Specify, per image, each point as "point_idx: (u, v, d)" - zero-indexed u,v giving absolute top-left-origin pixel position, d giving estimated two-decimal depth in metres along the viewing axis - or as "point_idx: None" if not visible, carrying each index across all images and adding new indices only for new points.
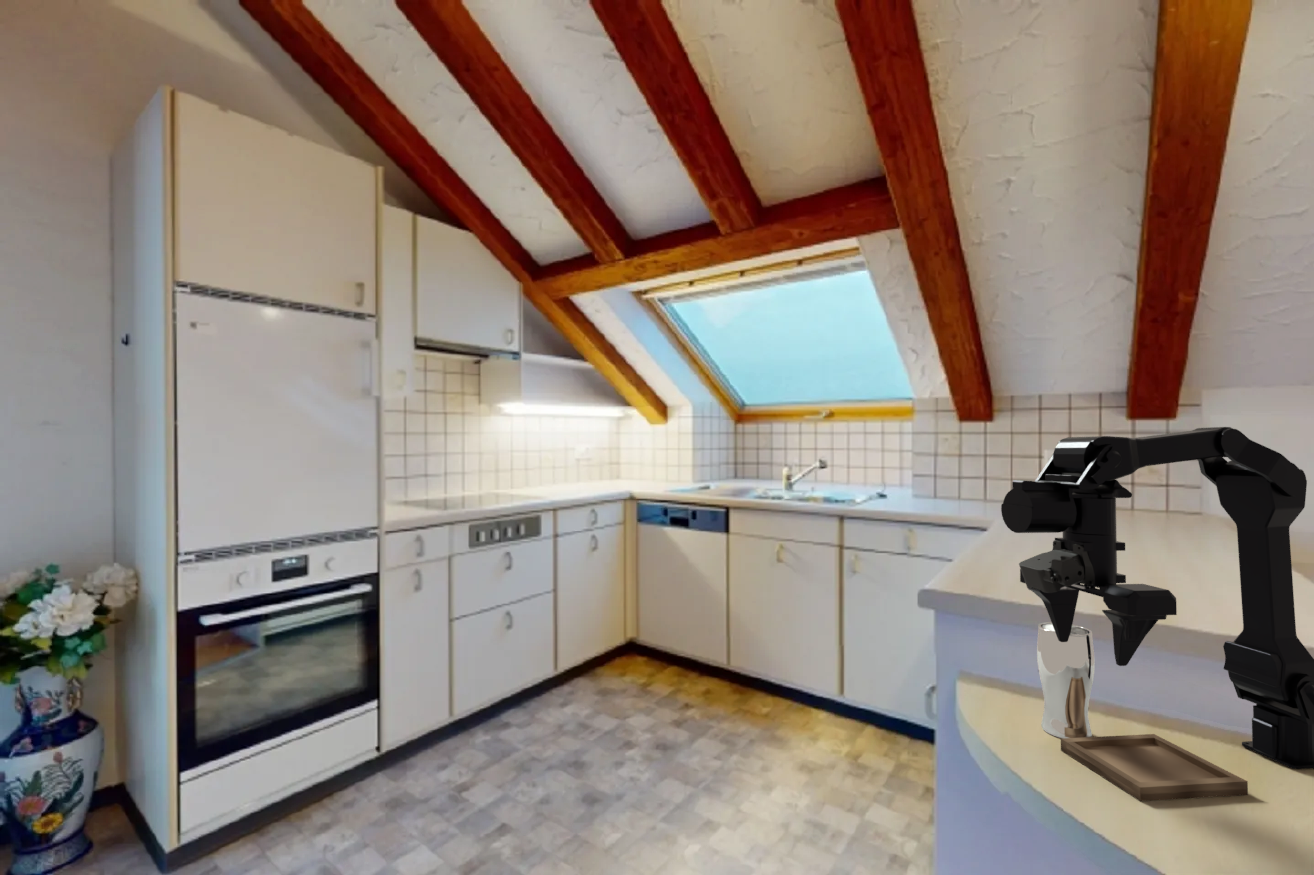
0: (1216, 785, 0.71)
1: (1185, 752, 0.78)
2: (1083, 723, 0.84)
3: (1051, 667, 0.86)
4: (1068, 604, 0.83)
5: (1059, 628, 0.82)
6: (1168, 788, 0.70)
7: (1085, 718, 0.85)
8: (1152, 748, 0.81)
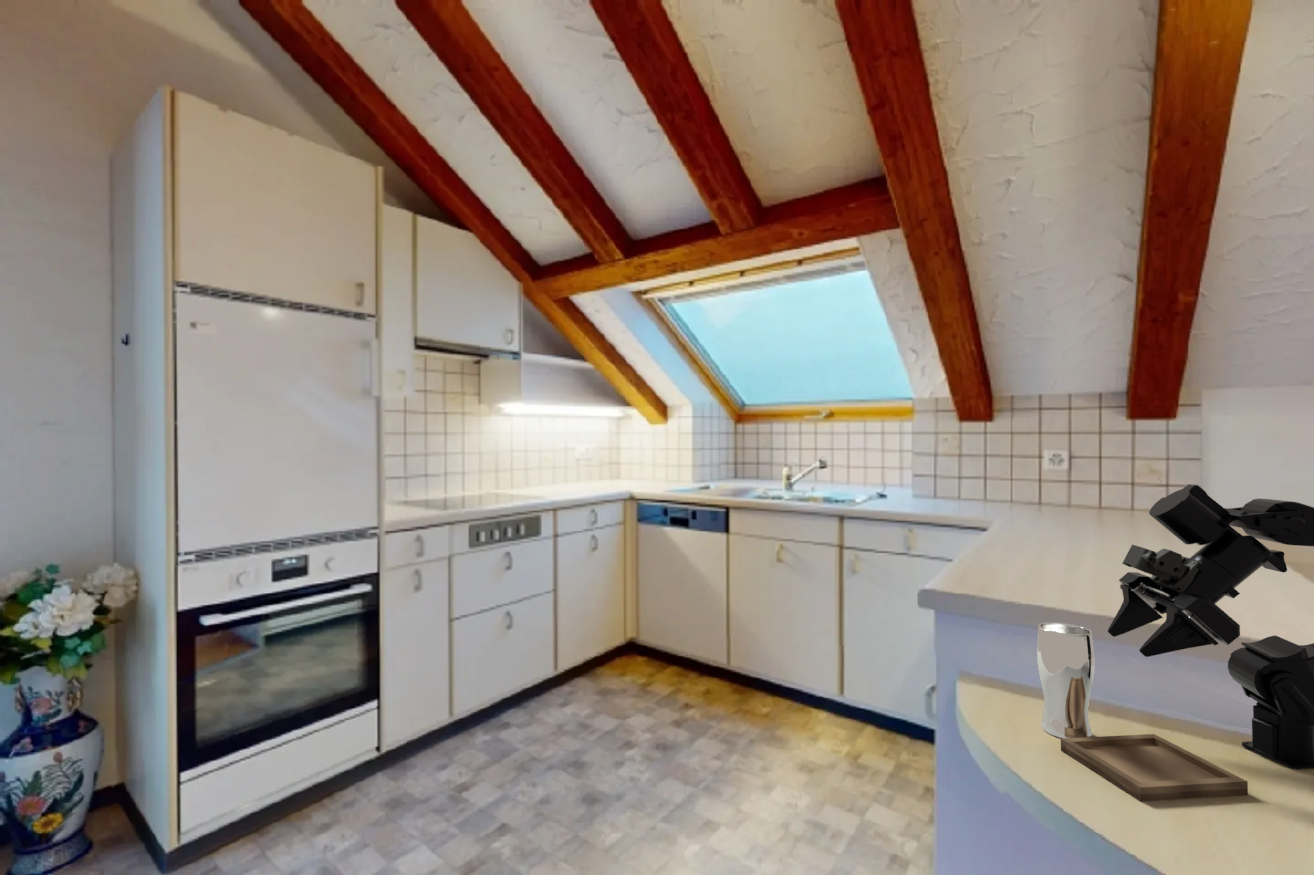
0: (1216, 785, 0.71)
1: (1185, 752, 0.78)
2: (1083, 723, 0.84)
3: (1051, 667, 0.86)
4: (1142, 617, 0.89)
5: (1117, 623, 0.90)
6: (1168, 788, 0.70)
7: (1085, 718, 0.85)
8: (1152, 748, 0.81)
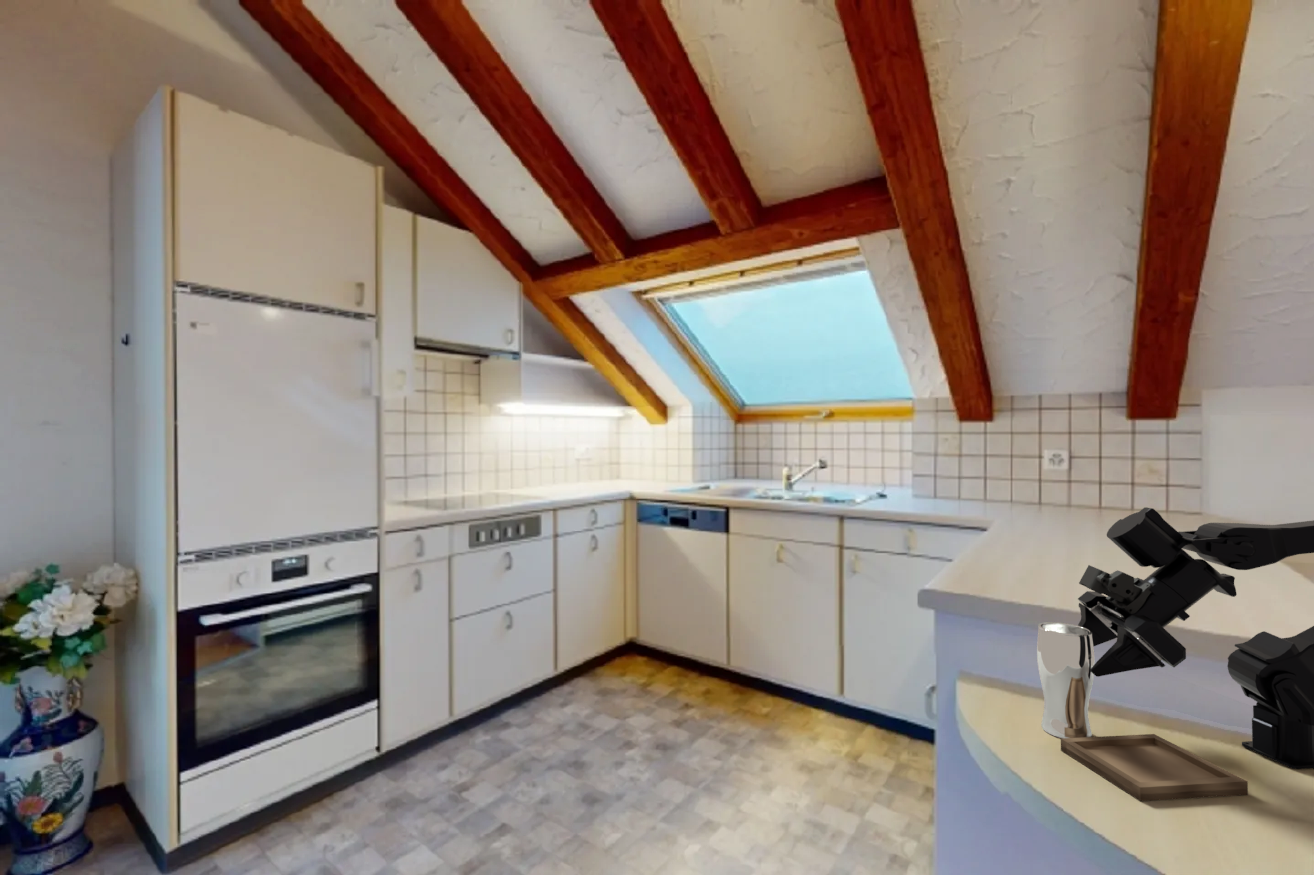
0: (1216, 785, 0.71)
1: (1185, 752, 0.78)
2: (1083, 723, 0.84)
3: (1051, 667, 0.86)
4: (1098, 636, 0.90)
5: None
6: (1168, 788, 0.70)
7: (1085, 718, 0.85)
8: (1152, 748, 0.81)
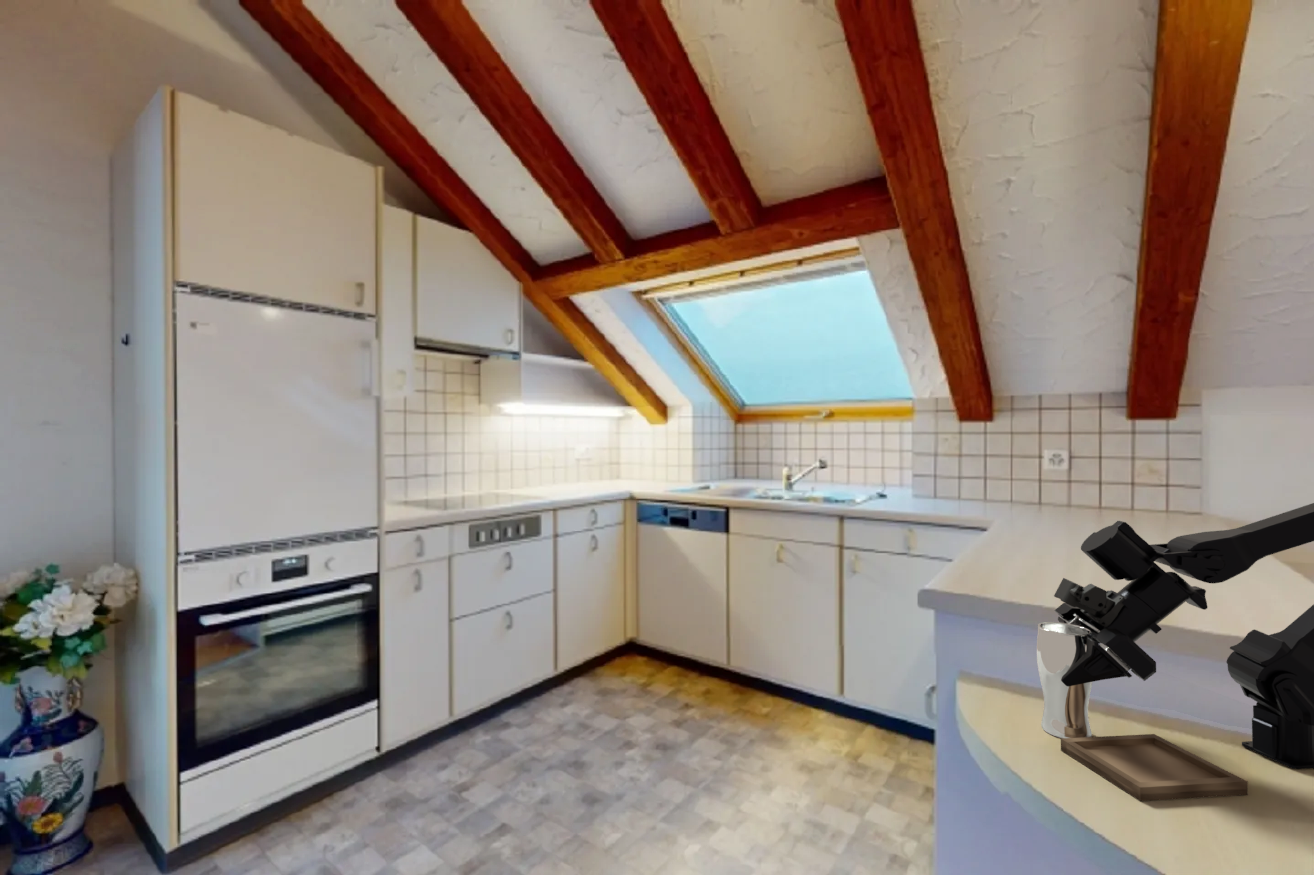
0: (1216, 785, 0.71)
1: (1185, 752, 0.78)
2: (1083, 723, 0.84)
3: (1051, 667, 0.86)
4: None
5: None
6: (1168, 788, 0.70)
7: (1085, 718, 0.85)
8: (1152, 748, 0.81)
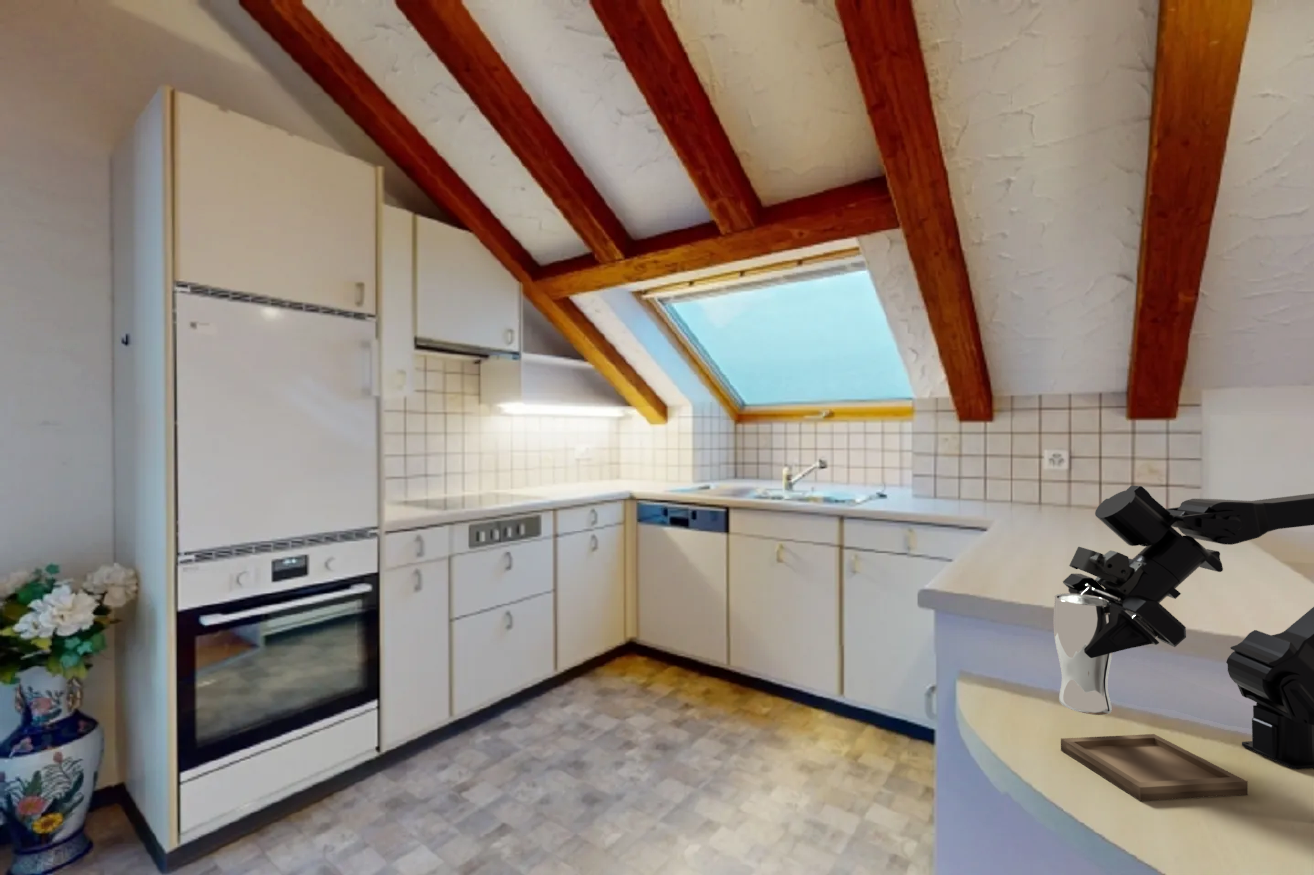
0: (1216, 785, 0.71)
1: (1185, 752, 0.78)
2: (1104, 696, 0.82)
3: (1072, 640, 0.82)
4: None
5: None
6: (1168, 788, 0.70)
7: (1106, 690, 0.82)
8: (1152, 748, 0.81)
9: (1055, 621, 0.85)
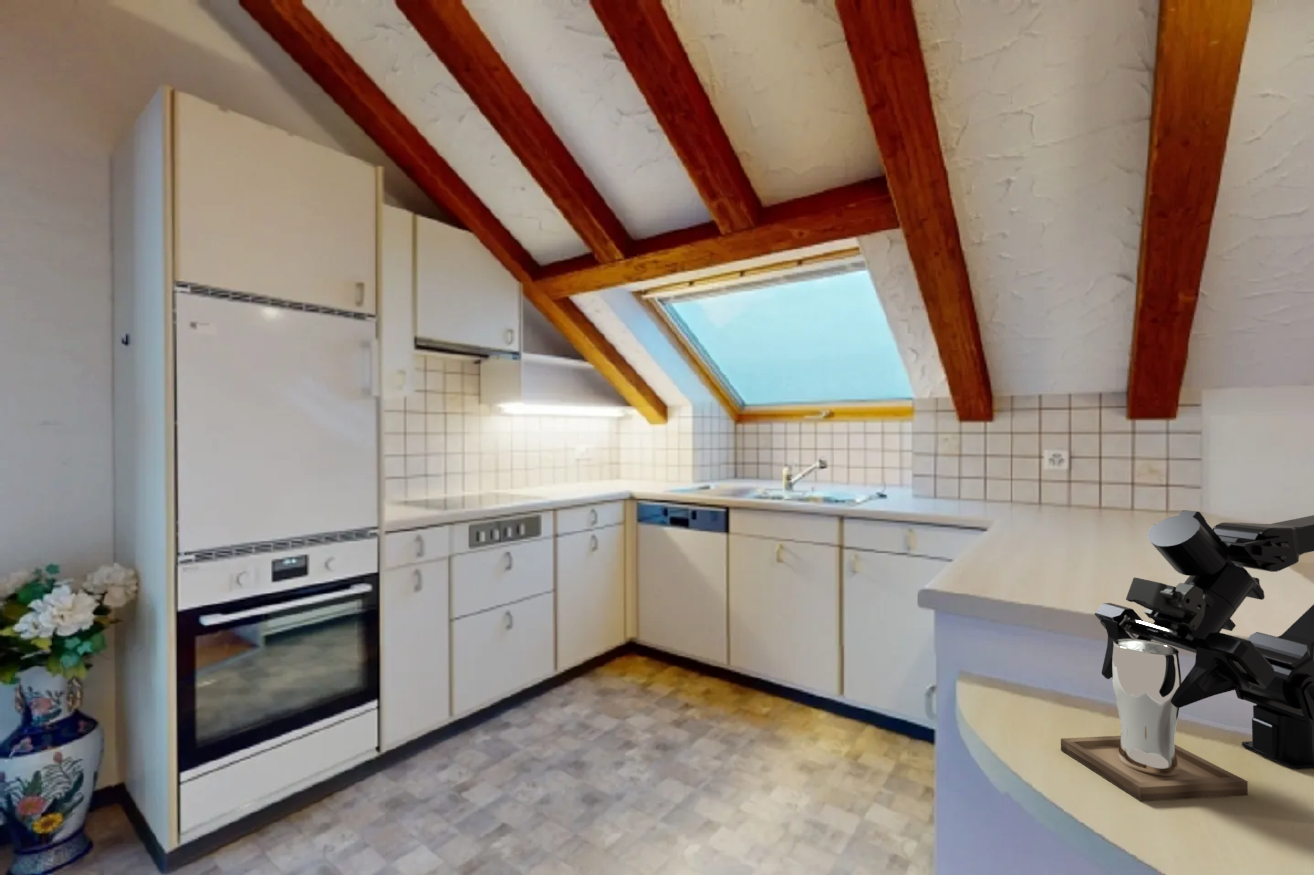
0: (1216, 785, 0.71)
1: (1185, 752, 0.78)
2: (1174, 753, 0.74)
3: (1146, 694, 0.74)
4: None
5: (1110, 663, 0.81)
6: (1168, 788, 0.70)
7: (1174, 747, 0.75)
8: None
9: (1120, 672, 0.76)
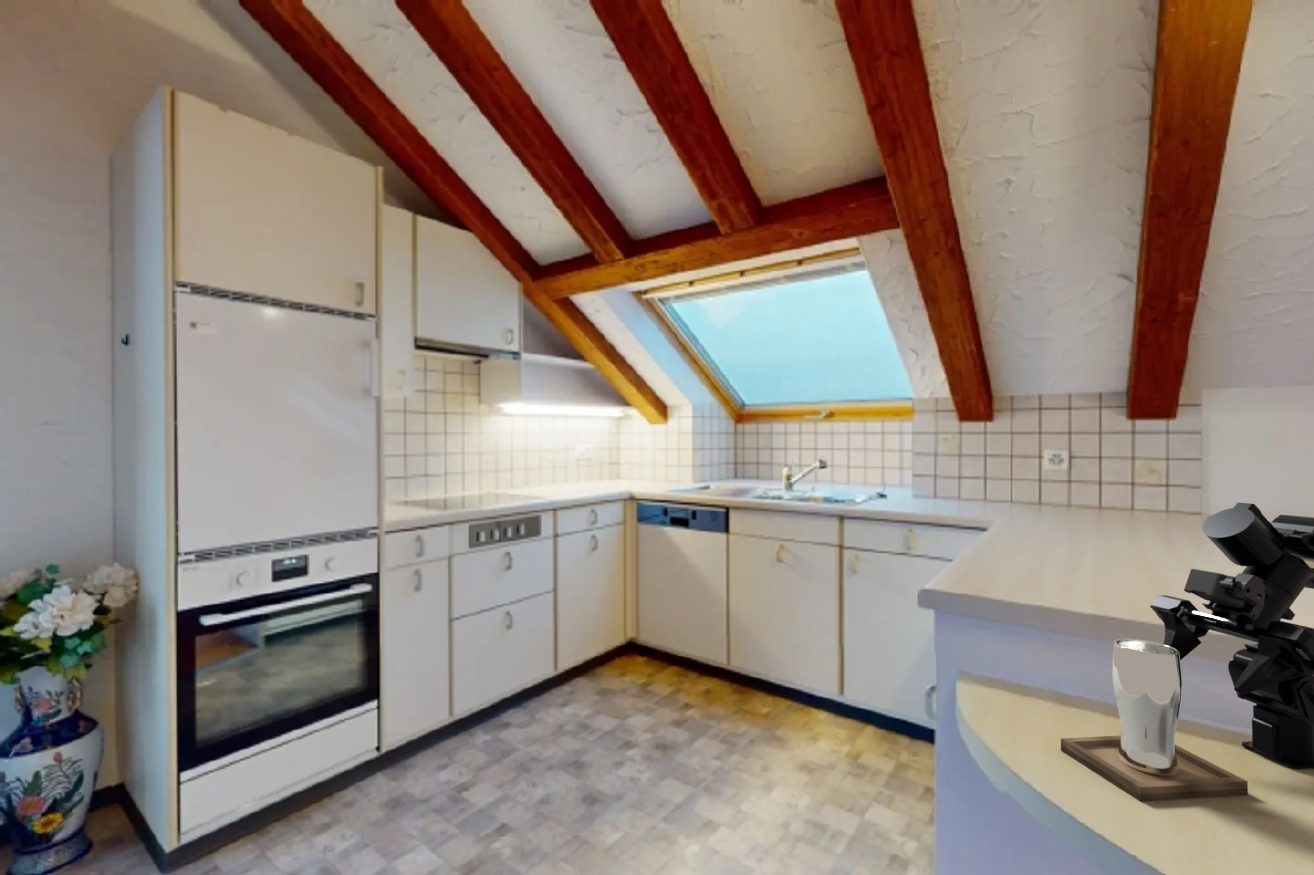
0: (1216, 785, 0.71)
1: (1185, 752, 0.78)
2: (1174, 753, 0.74)
3: (1146, 694, 0.74)
4: (1187, 644, 0.84)
5: None
6: (1168, 788, 0.70)
7: (1174, 747, 0.75)
8: None
9: (1121, 672, 0.76)
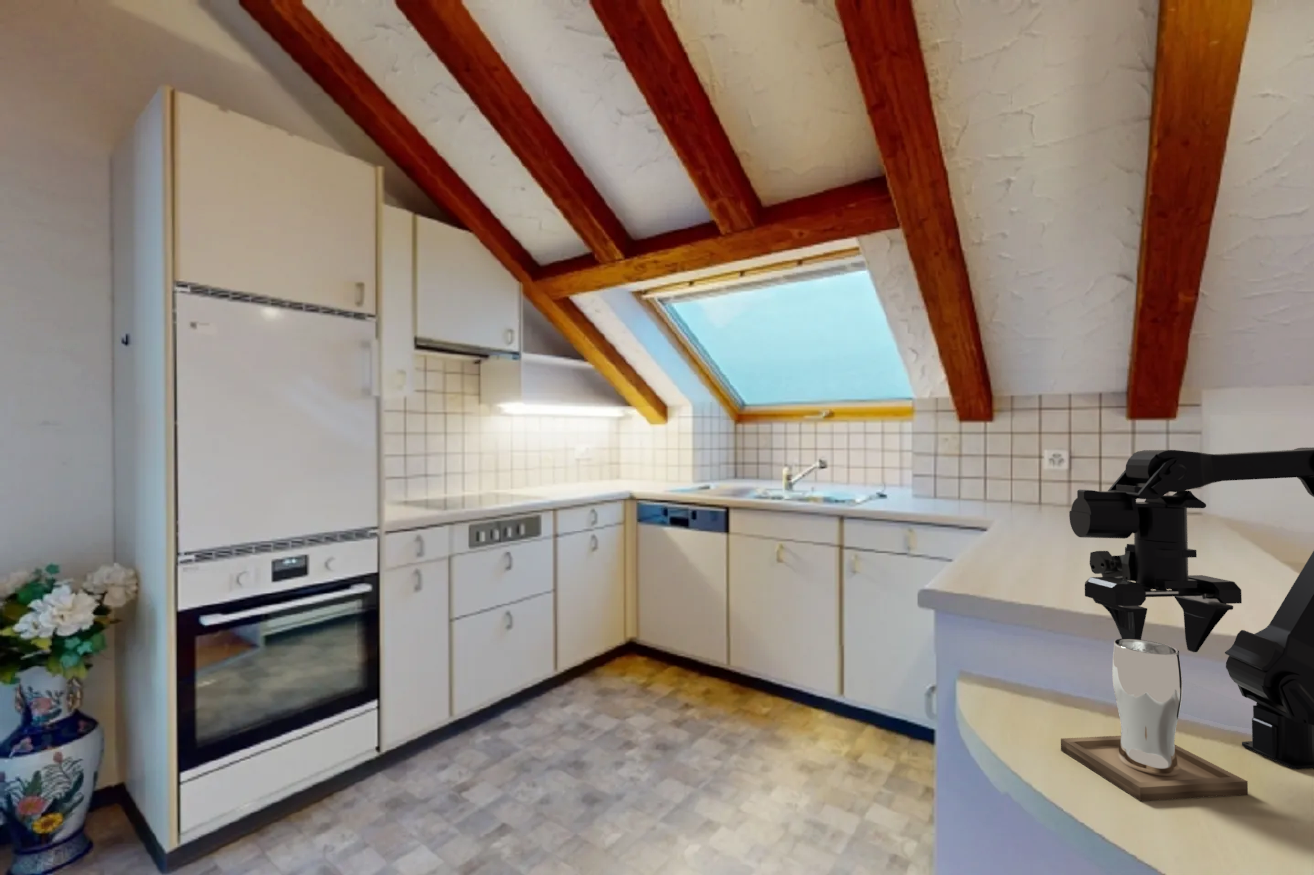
0: (1216, 785, 0.71)
1: (1185, 752, 0.78)
2: (1174, 753, 0.74)
3: (1146, 694, 0.74)
4: (1201, 617, 0.82)
5: (1186, 636, 0.84)
6: (1168, 788, 0.70)
7: (1174, 747, 0.75)
8: None
9: (1121, 673, 0.76)
